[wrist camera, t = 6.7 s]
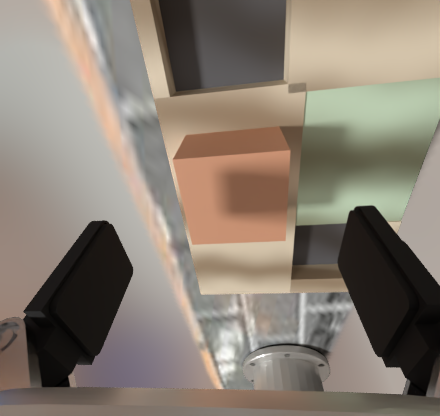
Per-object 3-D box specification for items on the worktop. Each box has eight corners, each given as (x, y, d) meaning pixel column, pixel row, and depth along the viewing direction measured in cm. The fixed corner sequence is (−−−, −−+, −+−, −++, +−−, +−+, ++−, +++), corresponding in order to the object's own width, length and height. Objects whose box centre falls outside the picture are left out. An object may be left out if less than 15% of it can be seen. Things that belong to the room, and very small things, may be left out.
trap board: (366, 274, 25) (374, 291, 24) (203, 279, 27) (201, 294, 26) (509, -159, 10) (561, -197, 9) (123, -84, 12) (105, -102, 10)
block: (277, 205, 19) (285, 241, 16) (199, 210, 19) (192, 244, 16) (279, 126, 15) (290, 150, 12) (185, 134, 16) (172, 159, 13)
